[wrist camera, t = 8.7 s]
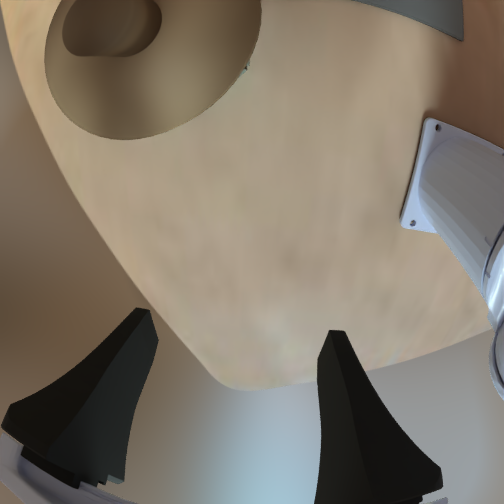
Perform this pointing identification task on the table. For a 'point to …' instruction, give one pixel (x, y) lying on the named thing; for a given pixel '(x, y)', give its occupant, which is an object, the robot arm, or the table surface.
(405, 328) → the table surface
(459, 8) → the mat
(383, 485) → the robot arm
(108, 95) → the lid
